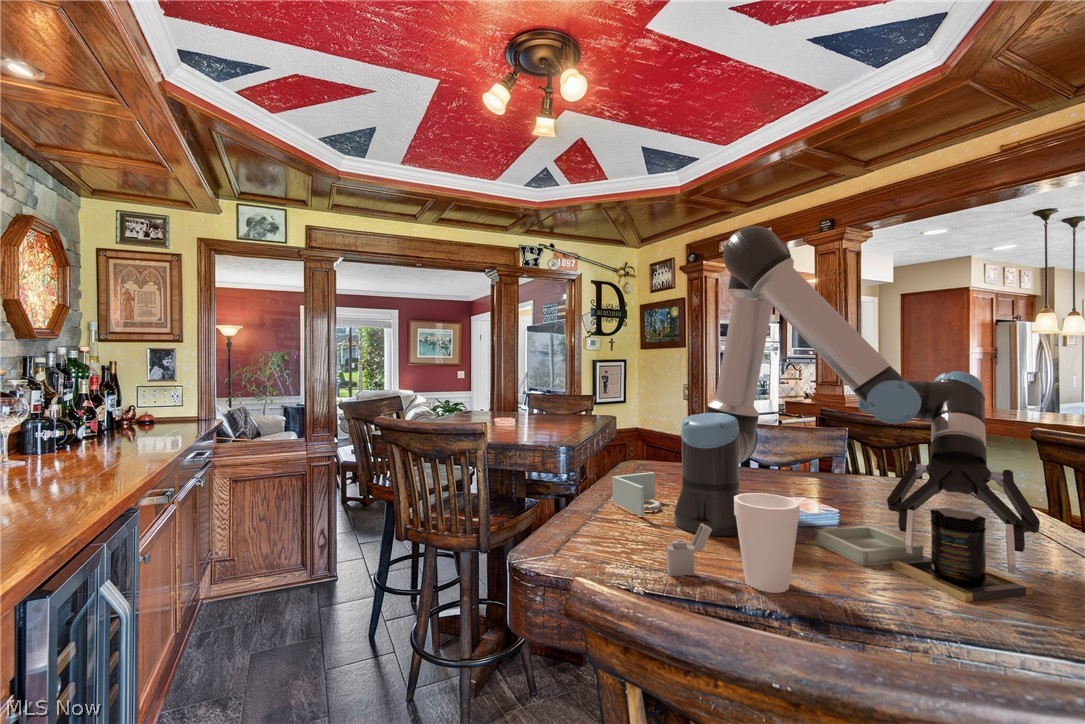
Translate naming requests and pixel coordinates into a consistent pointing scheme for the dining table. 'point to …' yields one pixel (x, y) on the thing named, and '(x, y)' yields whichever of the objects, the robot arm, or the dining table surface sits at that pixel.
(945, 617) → the dining table surface
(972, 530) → the supplement container
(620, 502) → the l-shaped corner panel
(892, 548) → the shallow grey-green tray
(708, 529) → the lighter
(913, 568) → the frame
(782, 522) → the foam cup
